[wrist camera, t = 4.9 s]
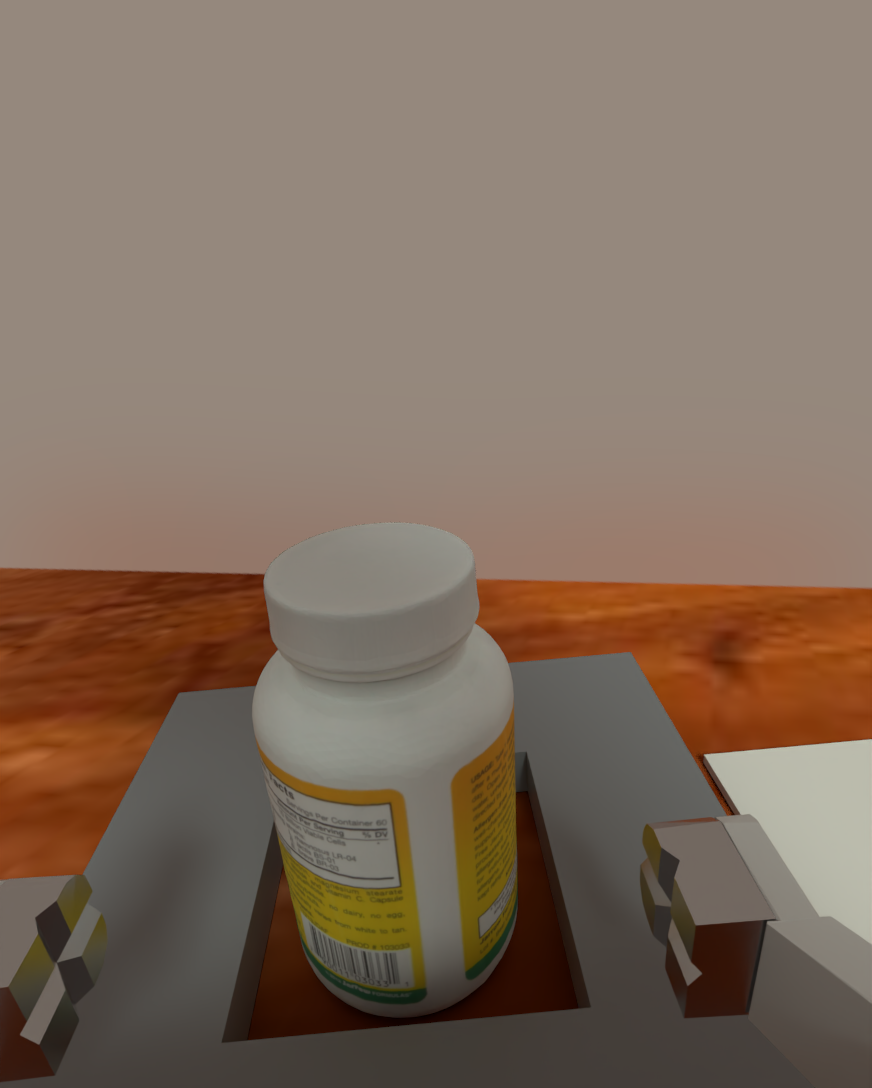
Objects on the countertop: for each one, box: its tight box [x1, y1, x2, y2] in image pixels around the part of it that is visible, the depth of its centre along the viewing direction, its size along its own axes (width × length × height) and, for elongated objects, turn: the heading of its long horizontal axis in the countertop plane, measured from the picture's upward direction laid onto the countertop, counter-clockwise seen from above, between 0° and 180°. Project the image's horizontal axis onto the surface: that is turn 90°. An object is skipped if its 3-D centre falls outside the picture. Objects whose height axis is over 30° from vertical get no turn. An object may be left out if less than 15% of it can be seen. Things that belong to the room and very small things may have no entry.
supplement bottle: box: [252, 522, 518, 1018], centre depth 14 cm, size 5×5×10 cm
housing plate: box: [0, 652, 815, 1088], centre depth 16 cm, size 16×16×2 cm
